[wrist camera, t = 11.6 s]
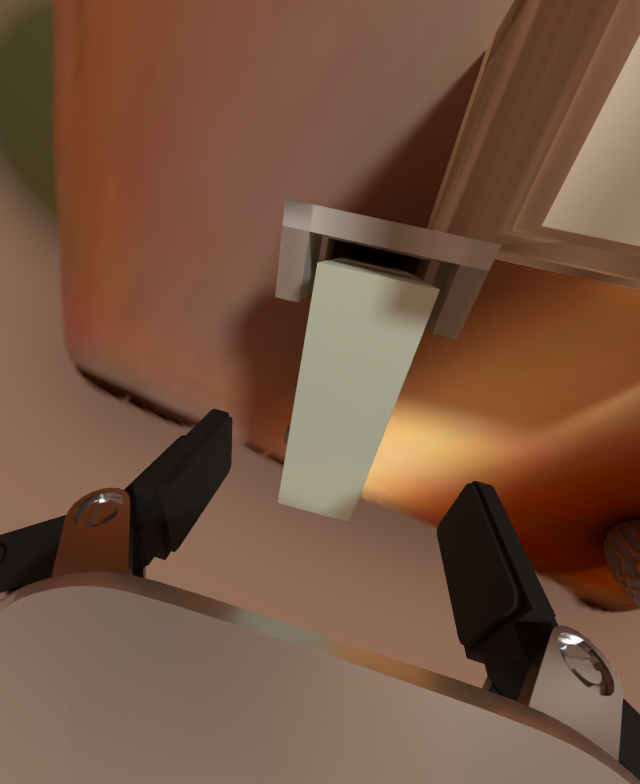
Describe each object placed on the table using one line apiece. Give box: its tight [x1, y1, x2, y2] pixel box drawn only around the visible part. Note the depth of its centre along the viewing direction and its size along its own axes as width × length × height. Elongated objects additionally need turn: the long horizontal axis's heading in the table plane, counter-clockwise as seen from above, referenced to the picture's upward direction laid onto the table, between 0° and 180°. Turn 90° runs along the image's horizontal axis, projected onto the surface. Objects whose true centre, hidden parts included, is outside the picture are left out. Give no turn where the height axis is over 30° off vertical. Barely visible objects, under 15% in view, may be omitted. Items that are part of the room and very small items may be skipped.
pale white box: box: [278, 257, 440, 522], centre depth 16 cm, size 5×12×10 cm, turn 169°
